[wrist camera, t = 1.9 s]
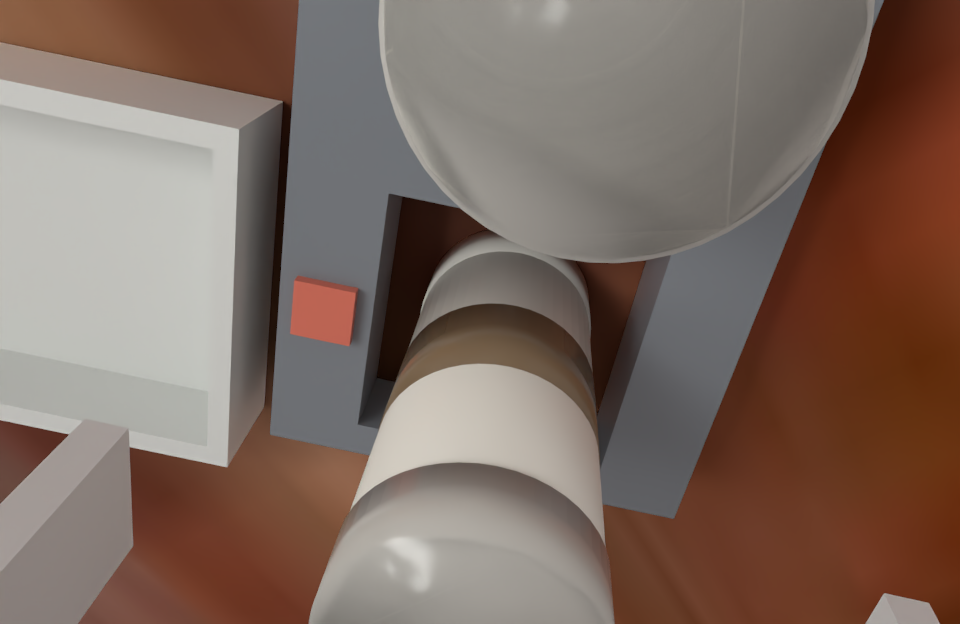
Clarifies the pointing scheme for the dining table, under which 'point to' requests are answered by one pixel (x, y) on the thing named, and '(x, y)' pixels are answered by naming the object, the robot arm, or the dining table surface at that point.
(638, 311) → the fuse panel
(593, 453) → the fuse
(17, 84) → the parts tray
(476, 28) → the fuse
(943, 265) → the dining table surface
